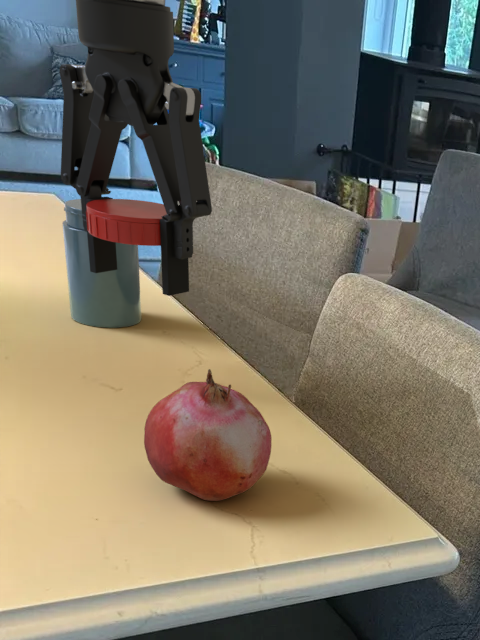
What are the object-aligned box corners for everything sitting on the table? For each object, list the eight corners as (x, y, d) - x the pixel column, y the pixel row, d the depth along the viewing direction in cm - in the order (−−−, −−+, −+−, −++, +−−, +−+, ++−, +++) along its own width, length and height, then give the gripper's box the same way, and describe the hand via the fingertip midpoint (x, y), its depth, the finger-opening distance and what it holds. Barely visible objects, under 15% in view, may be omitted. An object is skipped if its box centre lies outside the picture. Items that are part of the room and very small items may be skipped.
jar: (61, 322, 98) (50, 206, 91) (82, 304, 104) (73, 194, 98) (131, 331, 98) (125, 217, 92) (148, 312, 105) (144, 204, 98)
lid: (136, 221, 86) (135, 196, 85) (203, 240, 84) (203, 214, 82) (66, 229, 80) (64, 201, 79) (137, 250, 77) (136, 221, 76)
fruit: (158, 458, 73) (153, 338, 68) (274, 469, 74) (278, 352, 69) (132, 508, 65) (125, 378, 60) (263, 520, 67) (266, 393, 61)
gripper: (-7, -26, 72) (26, 261, 84) (194, 8, 65) (199, 315, 78) (66, -15, 78) (87, 252, 90) (257, 17, 71) (253, 301, 83)
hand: (139, 281), depth 84 cm, fingers closed on lid, 8 cm apart
